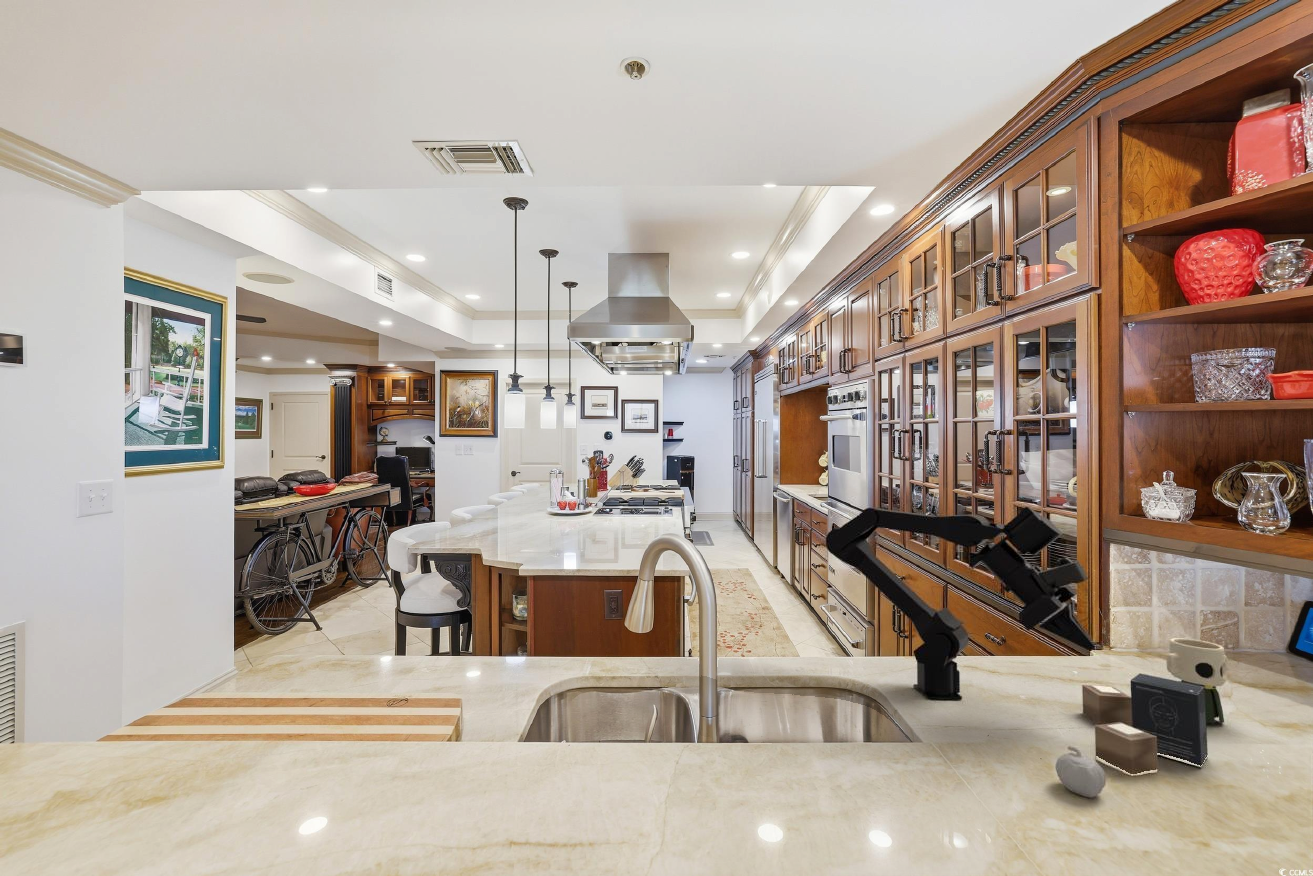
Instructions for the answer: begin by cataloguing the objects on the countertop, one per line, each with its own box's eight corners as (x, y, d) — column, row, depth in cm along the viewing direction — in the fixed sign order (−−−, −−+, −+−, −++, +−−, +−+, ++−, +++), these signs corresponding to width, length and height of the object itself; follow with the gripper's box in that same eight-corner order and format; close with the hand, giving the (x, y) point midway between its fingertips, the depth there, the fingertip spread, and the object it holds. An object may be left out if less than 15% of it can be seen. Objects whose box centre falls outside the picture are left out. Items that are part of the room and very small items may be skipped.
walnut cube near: (1131, 777, 80) (1130, 738, 81) (1095, 760, 85) (1094, 723, 86) (1157, 773, 82) (1156, 734, 82) (1121, 756, 87) (1119, 720, 87)
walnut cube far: (1099, 725, 98) (1098, 693, 98) (1082, 713, 103) (1082, 683, 103) (1132, 728, 97) (1131, 696, 97) (1114, 716, 102) (1113, 685, 102)
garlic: (1049, 776, 80) (1048, 737, 81) (1095, 784, 78) (1094, 744, 79) (1063, 798, 75) (1062, 757, 75) (1113, 807, 73) (1112, 764, 73)
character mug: (1190, 728, 97) (1187, 649, 98) (1151, 711, 104) (1148, 637, 105) (1250, 728, 98) (1246, 649, 99) (1207, 711, 105) (1204, 637, 106)
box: (1208, 758, 86) (1205, 685, 87) (1201, 770, 83) (1198, 694, 84) (1141, 739, 93) (1138, 671, 93) (1132, 749, 89) (1129, 678, 90)
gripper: (1040, 546, 93) (1131, 630, 85) (1061, 539, 106) (1141, 610, 98) (986, 589, 98) (1067, 672, 89) (1012, 576, 111) (1085, 648, 103)
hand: (1092, 648), depth 95 cm, fingers closed
